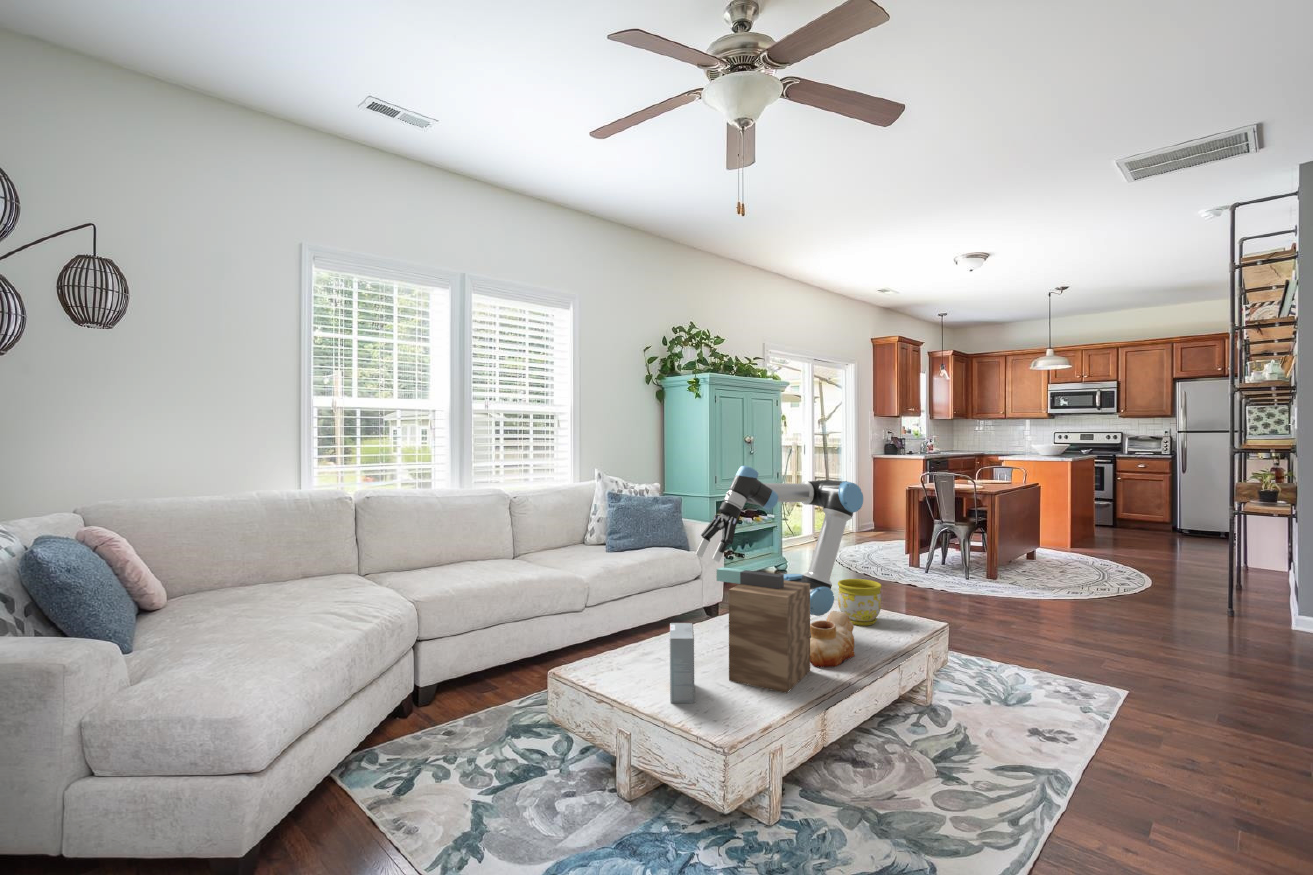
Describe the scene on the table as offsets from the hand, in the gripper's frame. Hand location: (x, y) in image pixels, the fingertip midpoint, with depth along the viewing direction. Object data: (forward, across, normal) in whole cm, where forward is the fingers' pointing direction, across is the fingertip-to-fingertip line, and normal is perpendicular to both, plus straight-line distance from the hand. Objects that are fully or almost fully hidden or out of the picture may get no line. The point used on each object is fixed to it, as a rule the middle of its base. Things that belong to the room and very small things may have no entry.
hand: (706, 558), depth 233 cm
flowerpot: (-11, -19, +88) cm, 91 cm away
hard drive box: (+43, +21, +2) cm, 48 cm away
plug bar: (+2, +15, +11) cm, 19 cm away
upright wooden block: (+26, +20, +30) cm, 44 cm away
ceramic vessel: (+10, +13, +56) cm, 58 cm away
